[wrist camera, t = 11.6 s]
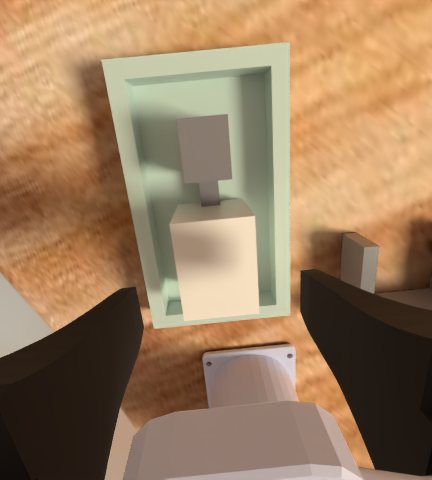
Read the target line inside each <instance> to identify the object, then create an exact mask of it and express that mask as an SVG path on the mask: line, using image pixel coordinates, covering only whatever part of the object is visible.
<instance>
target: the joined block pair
mask: <svg viewBox="0 0 432 480" xmlns="http://www.w3.org/2000/svg"><path fill="white" fill-rule="evenodd" d="M176 120H177V128H178V136H179V144H180V152H181V160H182V168H183V175H184V183H185V184H189V183H199V188H200V197H201V202H200V203H189V204H179V205H178V206H177V208H176V211H175V213H174V215H173V217H172V220H171V222H170V224H169V225H170V231H171V238H172V244H173V251H174V257H175V264H176V271H177V277H178V284H179V290H180V297H181V303H182V310H183V317H184V321H191V320H201V319H211V318H221V317H231V316H241V315H251V314H260V313H259V291H258V270H257V248H256V226H255V215H254V214H253V212H252V211H251V209H250V208H249V207H248V205H247V204H246V202H245V201H244V199H243V198H241V199H230V200H220V197H219V186H218V181H220V180H230V179H232V167H231V152H230V138H229V124H228V114H221V115H211V116H200V117H190V118H179V119H176Z"/></svg>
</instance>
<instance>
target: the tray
mask: <svg viewBox="0 0 432 480" xmlns="http://www.w3.org/2000/svg"><path fill="white" fill-rule="evenodd" d="M101 61H102V66H103V71H104V76H105V81H106V86H107V92H108V97H109V102H110V107H111V112H112V117H113V122H114V127H115V132H116V137H117V143H118V148H119V153H120V158H121V163H122V168H123V173H124V178H125V183H126V188H127V194H128V199H129V204H130V209H131V214H132V219H133V224H134V229H135V234H136V239H137V245H138V250H139V255H140V260H141V265H142V270H143V275H144V280H145V285H146V290H147V296H148V301H149V306H150V311H151V316H152V321H153V326H154V329H157V328H167V327H177V326H187V325H197V324H207V323H217V322H227V321H237V320H247V319H257V318H267V317H277V316H287V315H290V42H286V43H275V44H265V45H254V46H243V47H233V48H222V49H211V50H201V51H190V52H179V53H168V54H158V55H147V56H136V57H126V58H115V59H104V60H101ZM221 114H228V124H229V138H230V152H231V167H232V179H230V180H220V181H218V186H219V197H220V200H230V199H241V198H243V199H244V201H245V202H246V204H247V205H248V207H249V208H250V209H251V211H252V212H253V214H254V215H255V226H256V248H257V270H258V291H259V313H260V314H251V315H241V316H231V317H221V318H211V319H201V320H191V321H184V317H183V310H182V303H181V297H180V290H179V284H178V277H177V271H176V264H175V257H174V251H173V244H172V238H171V231H170V225H169V224H170V222H171V220H172V217H173V215H174V213H175V211H176V208H177V206H178V205H179V204H189V203H200V202H201V197H200V188H199V183H189V184H185V183H184V175H183V168H182V160H181V152H180V144H179V136H178V128H177V120H176V119H179V118H190V117H200V116H211V115H221Z"/></svg>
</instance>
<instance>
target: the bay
mask: <svg viewBox="0 0 432 480" xmlns="http://www.w3.org/2000/svg"><path fill="white" fill-rule="evenodd" d="M378 254H379V246H378V245H377V244H375V243H373V242H372V241H370V240H368V239H366V238H365V237H363V236H361V235H360V234H358V233H356V232H354V233H344V234H343V238H342V254H341V270H340V280H342V281H344V282H346V283H348V284H351V285H353V286H355V287H358V288H360V289H363V290H365V291H368V292H370V293H373V294H376V295H378V296H381V297H384V298H387V299H391V300H394V301H397V302H400V303H404V304H407V305H411V306H415V307H419V308H424V309H428V310H432V274H431V279H430V285H429V288H423V289H413V290H403V291H393V292H383V293H374V290H375V281H376V272H377V263H378Z"/></svg>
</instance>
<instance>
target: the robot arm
mask: <svg viewBox="0 0 432 480" xmlns="http://www.w3.org/2000/svg"><path fill="white" fill-rule="evenodd" d="M300 312H301V314H302V317H303V319H304V322H305V324H306V327H307V329H308V331H309V333H310V335H311V337H312V338H313V340H314V342H315V343H316V345H317V347H318V349H319V350H320V352H321V354H322V355H323V357H324V359H325V361H326V362H327V364H328V366H329V367H330V369H331V371H332V372H333V374H334V376H335V378H336V380H337V382H338V384H339V386H340V388H341V390H342V392H343V394H344V396H345V399H346V401H347V403H348V405H349V407H350V410H351V412H352V414H353V417H354V419H355V421H356V424H357V426H358V428H359V431H360V433H361V435H362V438H363V440H364V443H365V445H366V448H367V450H368V453H369V455H370V458H371V460H372V463H373V465H374V468H375V469H369V468H362V467H357V465H356V463H355V460H354V458H353V456H352V454H351V452H350V450H349V448H348V446H347V444H346V441H345V439H344V437H343V435H342V433H341V431H340V429H339V427H338V425H337V422H336V420H335V418H334V416H333V415H331V414H330V413H328V412H327V411H326V410H324V409H323V408H321V407H320V406H318V405H317V404H315V403H309V402H299V399H298V397H297V394H296V391H295V348H294V346H293V345H292V344H282V345H272V346H262V347H252V348H242V349H232V350H222V351H213V352H206V353H204V354H203V357H202V360H203V367H204V375H205V383H206V390H207V398H208V405H209V408H207V409H198V410H188V411H178V412H173V413H170V414H167V415H163V416H160V417H157V418H154V419H151V420H149V421H148V422H147V423H146V424H145V425H144V426H143V427H142V428H141V429H140V430H139V431H138V432H137V433H136V434H135V435H134V436H133V440H132V444H131V448H130V452H129V456H128V460H127V464H126V468H125V473H124V476H123V480H432V310H428V309H424V308H419V307H415V306H411V305H407V304H404V303H400V302H397V301H394V300H391V299H387V298H384V297H381V296H378V295H376V294H373V293H370V292H368V291H365V290H363V289H360V288H358V287H355V286H353V285H351V284H348V283H346V282H344V281H342V280H339V279H337V278H335V277H333V276H331V275H328V274H326V273H324V272H321V271H319V270H315V269H313V270H303V271H301V293H300ZM143 329H144V325H143V320H142V315H141V310H140V306H139V301H138V296H137V291H136V287H131V288H122V289H120V290H118V291H116V292H115V293H113V294H112V295H110V296H109V297H107V298H106V299H105V300H103V301H102V302H100V303H99V304H98V305H96V306H95V307H93V308H92V309H91V310H89V311H88V312H86V313H85V314H83V315H82V316H80V317H79V318H77V319H76V320H74V321H72V322H71V323H69V324H68V325H66V326H64V327H63V328H61V329H59V330H58V331H56V332H54V333H52V334H50V335H49V336H47V337H45V338H43V339H41V340H39V341H37V342H35V343H33V344H30V345H28V346H26V347H24V348H22V349H20V350H18V351H16V352H13V353H11V354H9V355H6V356H4V357H1V358H0V480H104V479H105V474H106V469H107V463H108V459H109V454H110V449H111V445H112V440H113V434H114V431H115V426H116V422H117V418H118V413H119V409H120V406H121V402H122V399H123V396H124V393H125V390H126V387H127V384H128V381H129V378H130V375H131V373H132V370H133V367H134V364H135V361H136V358H137V355H138V352H139V349H140V345H141V340H142V335H143ZM288 354H290V355H288ZM207 362H211V363H207Z"/></svg>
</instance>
